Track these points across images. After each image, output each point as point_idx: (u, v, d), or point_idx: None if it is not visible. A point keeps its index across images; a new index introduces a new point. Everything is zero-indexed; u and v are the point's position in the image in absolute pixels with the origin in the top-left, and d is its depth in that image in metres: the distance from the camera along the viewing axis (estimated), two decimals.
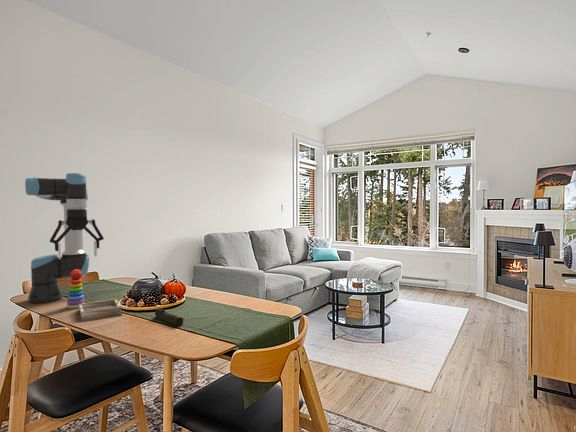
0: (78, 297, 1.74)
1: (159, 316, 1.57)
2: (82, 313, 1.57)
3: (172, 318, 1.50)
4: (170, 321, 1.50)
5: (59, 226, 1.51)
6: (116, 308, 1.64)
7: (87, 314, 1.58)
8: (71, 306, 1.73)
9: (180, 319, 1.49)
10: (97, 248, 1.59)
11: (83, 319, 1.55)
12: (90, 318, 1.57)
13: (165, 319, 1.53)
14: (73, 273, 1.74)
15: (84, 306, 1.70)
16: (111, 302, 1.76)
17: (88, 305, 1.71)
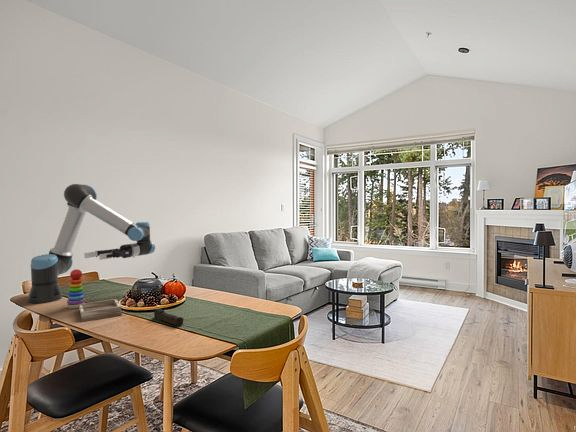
0: (78, 297, 1.74)
1: (158, 316, 1.56)
2: (82, 313, 1.57)
3: (172, 318, 1.50)
4: (170, 321, 1.50)
5: None
6: (116, 308, 1.64)
7: (87, 314, 1.58)
8: (71, 306, 1.73)
9: (180, 319, 1.49)
10: None
11: (83, 319, 1.55)
12: (90, 318, 1.57)
13: (165, 319, 1.53)
14: (73, 273, 1.74)
15: (84, 306, 1.70)
16: (111, 302, 1.76)
17: (88, 305, 1.71)
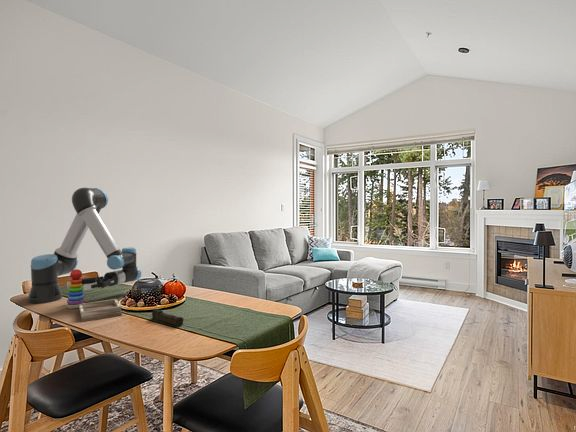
0: (78, 297, 1.74)
1: (157, 317, 1.56)
2: (82, 313, 1.57)
3: (172, 318, 1.50)
4: (170, 321, 1.50)
5: None
6: (116, 308, 1.64)
7: (87, 314, 1.58)
8: (71, 306, 1.73)
9: (180, 319, 1.49)
10: None
11: (83, 319, 1.55)
12: (90, 318, 1.57)
13: (164, 319, 1.53)
14: (73, 273, 1.74)
15: (84, 306, 1.70)
16: (111, 302, 1.76)
17: (88, 305, 1.71)
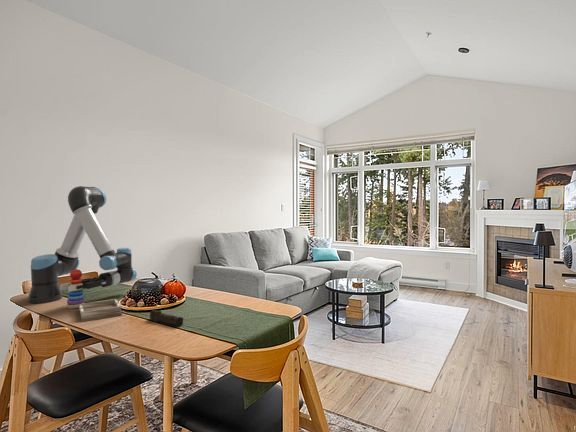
0: (78, 297, 1.74)
1: (155, 317, 1.55)
2: (82, 313, 1.57)
3: (172, 318, 1.50)
4: (169, 321, 1.50)
5: None
6: (116, 308, 1.64)
7: (87, 314, 1.58)
8: (71, 306, 1.73)
9: (180, 319, 1.49)
10: None
11: (83, 319, 1.55)
12: (90, 318, 1.57)
13: (163, 320, 1.52)
14: (73, 273, 1.74)
15: (84, 306, 1.70)
16: (111, 302, 1.76)
17: (88, 305, 1.71)
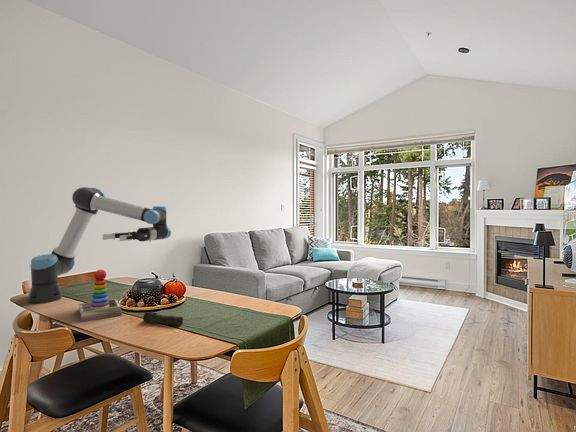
0: (102, 299, 1.65)
1: (151, 319, 1.52)
2: (82, 313, 1.57)
3: (172, 319, 1.49)
4: (169, 322, 1.49)
5: (143, 238, 1.90)
6: (116, 308, 1.64)
7: (87, 314, 1.58)
8: (95, 308, 1.64)
9: (181, 318, 1.50)
10: None
11: (83, 319, 1.55)
12: (90, 318, 1.57)
13: (161, 321, 1.51)
14: (97, 274, 1.65)
15: (84, 306, 1.70)
16: (111, 302, 1.76)
17: (88, 305, 1.71)
